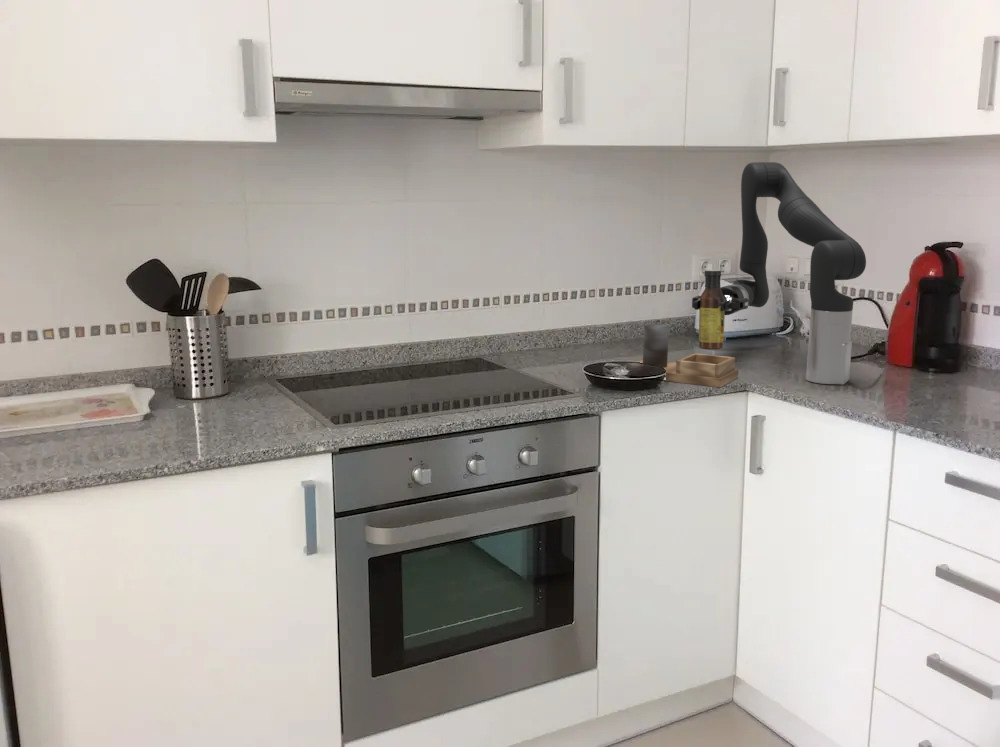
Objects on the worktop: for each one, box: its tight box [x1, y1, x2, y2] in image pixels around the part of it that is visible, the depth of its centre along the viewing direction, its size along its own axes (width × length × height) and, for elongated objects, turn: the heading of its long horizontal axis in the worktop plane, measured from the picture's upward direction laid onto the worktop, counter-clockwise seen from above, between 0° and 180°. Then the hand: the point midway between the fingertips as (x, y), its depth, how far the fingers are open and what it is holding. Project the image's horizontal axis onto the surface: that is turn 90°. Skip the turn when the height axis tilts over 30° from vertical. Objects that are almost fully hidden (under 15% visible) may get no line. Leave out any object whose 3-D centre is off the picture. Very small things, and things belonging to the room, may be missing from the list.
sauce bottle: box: [698, 269, 726, 351], centre depth 224 cm, size 6×6×20 cm
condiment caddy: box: [636, 323, 739, 388], centre depth 216 cm, size 25×13×12 cm, turn 58°
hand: (709, 306), depth 222 cm, fingers closed on sauce bottle, 6 cm apart
